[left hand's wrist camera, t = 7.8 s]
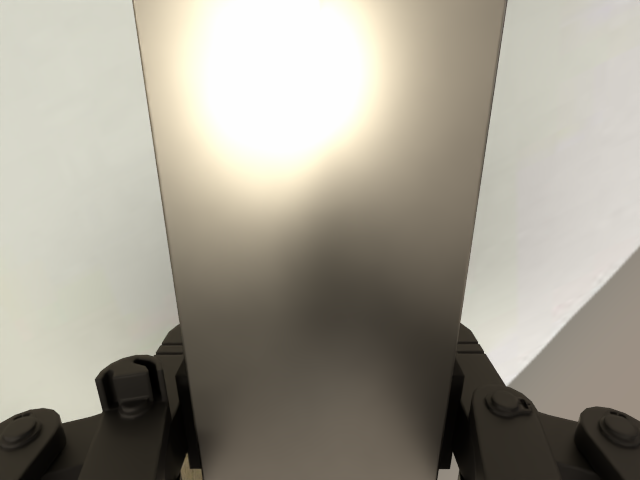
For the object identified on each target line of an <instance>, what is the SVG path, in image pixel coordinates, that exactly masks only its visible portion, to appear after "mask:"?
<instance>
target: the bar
mask: <svg viewBox="0 0 640 480" xmlns="http://www.w3.org/2000/svg"><path fill="white" fill-rule="evenodd" d="M132 2H133V9H134V16H135V22H136V29H137V36H138V43H139V50H140V56H141V63H142V70H143V77H144V84H145V90H146V97H147V104H148V111H149V118H150V125H151V131H152V138H153V145H154V152H155V159H156V165H157V172H158V179H159V186H160V193H161V199H162V206H163V213H164V220H165V227H166V234H167V240H168V247H169V254H170V261H171V268H172V274H173V281H174V288H175V295H176V302H177V308H178V315H179V322H180V329H181V336H182V342H183V349H184V356H185V363H186V370H187V377H188V383H189V390H190V397H191V404H192V411H193V417H194V424H195V431H196V438H197V445H198V451H199V458H200V465H201V472H202V479H203V480H437V477H438V471H439V464H440V457H441V450H442V443H443V436H444V430H445V423H446V416H447V409H448V402H449V395H450V389H451V382H452V375H453V368H454V361H455V355H456V348H457V341H458V334H459V327H460V320H461V314H462V307H463V300H464V293H465V286H466V280H467V273H468V266H469V259H470V252H471V245H472V239H473V232H474V225H475V218H476V211H477V205H478V198H479V191H480V184H481V177H482V170H483V164H484V157H485V150H486V143H487V136H488V129H489V123H490V116H491V109H492V102H493V95H494V89H495V82H496V75H497V68H498V61H499V54H500V48H501V41H502V34H503V27H504V20H505V14H506V7H507V0H132Z"/></svg>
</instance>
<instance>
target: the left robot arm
mask: <svg viewBox="0 0 640 480" xmlns="http://www.w3.org/2000/svg"><path fill="white" fill-rule="evenodd" d="M95 382H96V386H97V390H98V394H99V398H100V402H101V406H102V410H103V412H102V413H101V414H98V415H95V416H91V417H88V418H83V419H79V420H75V421H71V422H66V423H62V422H61V419H60V415H59V414H58V413H56V412H55V411H54V410H51V409H46V408H40V409H33V410H28V411H25V412H22V413H20V414H17V415H14V416H12V417H11V418H9V419H7V420H5V421H3V422H2V423H0V480H182V475H181V468H182V465H183V463H184V460H185V457H186V455H187V454H188V460H189V467H190V469H201V465H200V458H199V451H198V445H197V438H196V431H195V424H194V417H193V411H192V404H191V397H190V390H189V383H188V377H187V370H186V363H185V356H184V349H183V342H182V336H181V329H180V324H179V325H177V326H176V327H175V328H173V329H172V330H171V331H170V332H169V333H168V334H167V336H166V338H165V339H164V341H163V342H162V345H161V346H160V347H159V349H158V350H157V352H156V355H154V357H153V356H150V355H134V356H130V357H126V358H122V359H120V360H118V361H116V362H114V363H111V364H110V365H109V366H107V367H106V368H105V369H103V370H102V371H101V372H100V373H99V375H98V376H97V377H96V379H95ZM452 453H454V456H455V459H456V462H457V464H458V467H459V475H458V480H640V421H638V420H636V419H634V418H633V417H631V416H629V415H627V414H625V413H623V412H620V411H617V410H614V409H611V408H605V407H591V408H586V409H585V410H584V411H583V412H582V413H581V414H580V418H579V421H578V422H576V421H572V420H567V419H563V418H559V417H555V416H551V415H547V414H544V413H541V412H538V411H537V409H536V408H535V406H534V405H533V403H532V401H530V400H529V399H528V398H527V397H526V396H525V395H523V394H522V393H520V392H518V391H516V390H514V389H512V388H510V387H506V386H505V384H504V382H503V381H502V379H501V378H500V376H499V374H498V373H497V371H496V370H495V368H494V367H493V365H492V363H491V362H490V360H489V359H488V357H487V355H486V354H484V351H483V349H482V348H481V346H480V344H478V341H477V340H476V338H475V336H474V335H473V333H472V332H471V330H469V329H468V328H467V327H465V326H464V325H463V324H461V323H460V327H459V334H458V341H457V348H456V355H455V361H454V368H453V375H452V382H451V389H450V395H449V402H448V409H447V416H446V423H445V430H444V436H443V443H442V450H441V457H440V464H439V469H450V465H451V459H452Z"/></svg>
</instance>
